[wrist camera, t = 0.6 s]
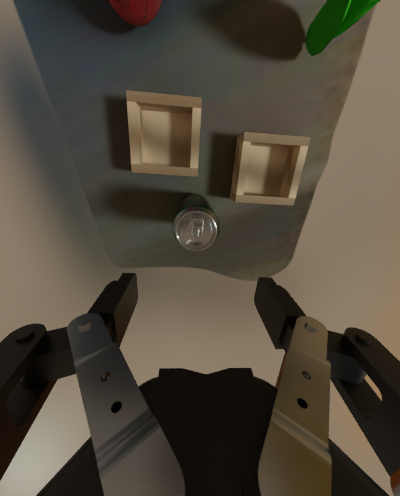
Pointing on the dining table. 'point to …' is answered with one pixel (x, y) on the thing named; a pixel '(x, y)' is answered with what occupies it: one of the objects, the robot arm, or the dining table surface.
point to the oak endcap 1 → (164, 133)
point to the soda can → (195, 223)
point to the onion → (136, 10)
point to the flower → (334, 21)
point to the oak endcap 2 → (268, 168)
